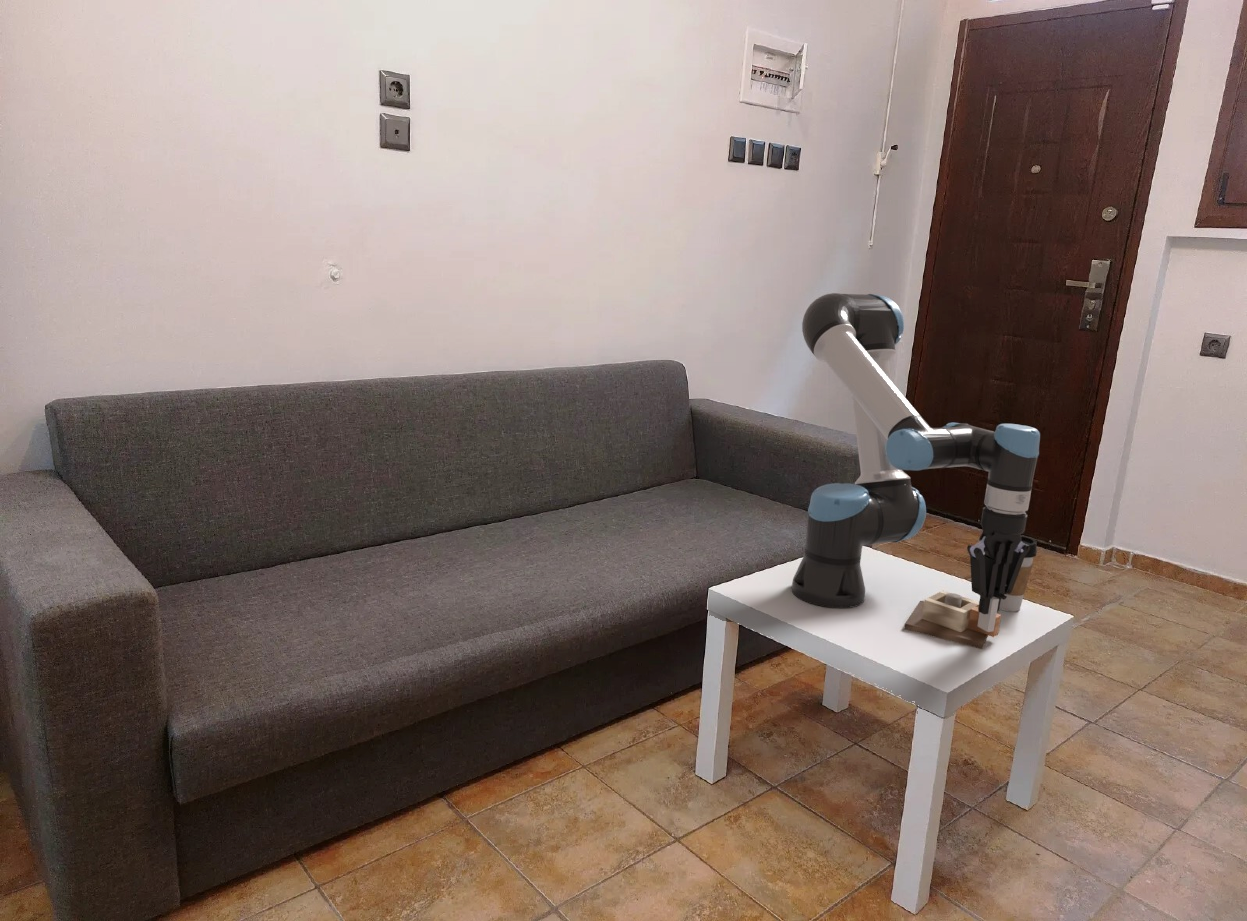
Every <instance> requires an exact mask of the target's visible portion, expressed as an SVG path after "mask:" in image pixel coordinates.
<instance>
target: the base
mask: <svg viewBox="0 0 1247 921" xmlns="http://www.w3.org/2000/svg"><path fill="white" fill-rule="evenodd" d="M962 597H963V595H960V594H957V593H952V592H949V593H947V594H946V597H945V604H948V605H951V606H954V607H957V608H961V601H962ZM923 607H924V600H919V602H918V603H917V605H916V606H915V607H914V610H913V611H912V612H911V614H910V615H909V616H908V617H907V620H906V621H905V622H904V628H903V629H904V630H906V631H910V632H914V633H918V634H921V635H925V636H930V637H934V638H938V639H941V640H945V641H949V642H953V643H957V644H959V645H960V644H961V645H964V646H968V647H969V646H970V647H972V648H977V649H981V650H983V648H984V647H985V645H986V642H987V640H988V637H989V635H986V634H983V633H980V632H977V631H974V630H971V629H968V628H967V629H966V630H964V631H963V632H959V631H956V630H953V629H950V628H947V627H944V626H941V625H939V624H936V623H933V622H930V621H927V620H924V619H922V614H923Z"/></svg>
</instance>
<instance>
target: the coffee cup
mask: <svg viewBox="0 0 1247 921" xmlns="http://www.w3.org/2000/svg"><path fill="white" fill-rule="evenodd" d="M1021 541H1022V542H1023V543H1024V544H1026V545H1029V546H1030V550H1029V552H1028V553H1027V555H1026V556H1025V558H1024V560H1023V563H1022V566H1021V568H1020V571H1019V574H1018V576H1017V579H1016V582H1015V584H1014V587H1013V590H1012V592H1011V593H1010V594H1005V596H1007V598H1006V599H1004V600H1003V599H1001V602H1000V607H999V611H1000V610H1001V611H1005V612H1018V611H1020V610H1021V606H1022V603H1023V600H1024V595H1025V592H1026V588H1027V586H1028V583H1029V580H1030V579H1029V578H1030V575H1031V572H1032V568H1033V565H1034V563H1033V560H1034V558H1035V557H1036V556H1037V553H1038V550H1037V547H1038V546H1037V545H1038V544H1037V542H1038V541H1037V540H1036V539H1033V538H1032V537H1028V536H1025V535H1021ZM1006 586H1007V585H1006Z"/></svg>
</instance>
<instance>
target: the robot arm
mask: <svg viewBox="0 0 1247 921" xmlns="http://www.w3.org/2000/svg"><path fill="white" fill-rule="evenodd" d="M904 327H905V320H904V316H903V312H902V311H901V308H900V306H899V305H898V304H897V303H896V302H895V301H893V300H892V299H891V298H889V297H887V296H884V295H878V294H874V293H873V294H872V293H869V294H859V293H858V294H855V293H837V292H834V293H833V292H832V293H826V294H823V295H821V296H819V297H817V298H816V299H814V300H813V301H812V302H811V303H810V304H809V306H808V307H807V309H806V311H805V313H804V314H803V318H802V323H801V328H802V329H801V330H802V331H801V332H802V335H803V340H804V341H805V344H806V346H807V347H808V349H809V351H810V353H811V354H812V355H813V356H814V357H815V359H817V360H818V361H819V362H825V363H826V364H827V365H828V367H830V369H831V370H832V371H833V373H834V374H835V376H836V377H837V378H838V379H839V380H840V381H841V383H842V384H843V385H844V387H845V388H846V390H847V391H848V392H849V393H850V394H851V397H852V407H853V408H852V409H853V417H854V425H855V426H854V427H855V432H856V442H857V450H858V461H859V468H860V469H859V470H860V476H859V477H858V478H857V480H856V481H855V482H854V483H849V482H848V483H847V482H844V483H840V482H834V483H827V484H824V485H821V486H818V487H817V488H816V489H814V490H813V491H812V493H811V496H810V502H809V504H808V505H809V506H808V508H807V513H808V514H807V523H806V534H805V535H806V536H805V543H804V551H803V552H804V553H803V556H802V559H801V561H800V563H799V565H798V568H797V570H796V571H795V574H794V576H793V578H792V584H791V592H792V593H793V595H795V596H796V597H797V598H799V599H800V600H802V601H804V602H806V603H810V604H813V605H816V606H820V607H827V608H835V609H841V608H842V609H846V608H847V609H848V608H854V607H858V606H860V605H862V604H863V603H864V601H865V597H866V596H865V595H866V586H865V581H864V577H863V571H862V566H861V559H862V551H863V547H864V546H871V545H880V544H887V543H899V542H902V541H905V540H910V539H912V538H914V537H915V536H916V535H917V534H918V533H919V531H920V530H921V529H922V528H923V526H924V523H925V521H926V517H927V507H926V501H925V498H924V497H923V495H922V494H920V491H919V490H918V489H917V488H915V487H913V486H912V482H911V476H909V475H908V474H907V473H906V472H905V471H916V472H918V471H922V470H929V469H946V468H957V467H969V468H974V469H977V470H980V471H981V470H982V471H985V472H988V474H987V475H988V476H987V483H986V489H985V495H984V501H983V504H984V505H985V506H984V507H983V508H982V512H981V513H982V514H981V520H980V525H981V528H982V532H981V534H980V536H979V539H978V541H977V543H975V544H969V545H968V546H967V548H966V550H967V553H968V555H969V561H970V562H969V563H970V564H969V565H970V580H971V582H970V583H971V591H972V592H973V593H975V594H977V595H979V600H978V602H979V607H978V611H979V612H980V613H979V619H978V625H977V626H978V627H980V628H981V629H983V630H985V631H987V632H992V631H994V626H995V620H996V614H999V611H1000V609H999V607H1000V602H1001V599H1003V600H1004V599H1006V598H1007V596H1005V594H1010V593H1011V592H1012V590H1013V587H1014V584H1015V582H1016V579H1017V576H1018V574H1019V571H1020V568H1021V566H1022V563H1023V560H1024V558H1025V556H1026V555H1027V553H1028V552H1029V550H1030V546H1029V545H1026V544H1024V543H1023V542H1022V541H1021V536H1022V535H1021V534H1024V533H1025V532H1026V524H1027V520H1028V514H1027V512H1028V510H1029V506H1030V501H1031V496H1032V495H1031V493H1032V489H1033V481H1034V477H1035V476H1034V475H1035V470H1036V467H1037V464H1038V458H1039V455H1040V441H1041V432H1040V431H1039V430H1038V429H1037V428H1035V427H1032V426H1028V425H1022V424H1015V423H1000V424H998V425H997V426H996V428H995V431H993V430H989V429H986V428H981V427H977V426H973V425H971V424H969V423H959V422H948V423H947V424H946V425H944V426H942V427H932V426H930V425H929V424H928V422H927V421H926V420H925V419H924V418H923V417H922V416H921V414H920V413H919V412H918V411H917V410H916V408H915V407H914V406H913V405H912V404H911V402H910V401H909V400H908V399H907V397H905V395H904V394H903V393H902V391H900V389H899V388H898V387H897V385H895V383H894V382H893V381H892V375H891V366H890V365H891V364H890V360H891V359H892V357H893V356H894V355H895V354H896V345H897V344H898V343H900V341H901V338H902V336H901V335H903V334H904ZM1006 585H1007V586H1006Z"/></svg>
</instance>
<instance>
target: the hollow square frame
mask: <svg viewBox="0 0 1247 921" xmlns="http://www.w3.org/2000/svg"><path fill="white" fill-rule="evenodd" d="M947 593H950V592H949V591H945V590H941V591H939V592H937V593H935V594H933V595H930V596H929V597H927V598H925V599H924V600H923V601H924V607H923V614H922V619H924V620H927V621H930V622H933V623H936V624H939V625H941V626H944V627H947V628H950V629H953V630H956V631H959V632H963V631H964V630H966V629H967V628H968V629H971V630H974V631H977V632H980V633H983V634H986V635H988V637H991V638H994V637H996V636H997V635H998V633H999V630H1000V622H1001V618H1002V614H999V613H997V614H996V620H995V626H994V631H992V632H987V631H985V630H983V629H981V628H980V627H978V626H977V625H978V619H979V613H980V612H979V611H978V607H979V600H978V601H977V600H974V599H972V598H967V597H964V596H962V601H961V608H957V607H954V606H951V605H948V604H945V597H946V594H947Z"/></svg>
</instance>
